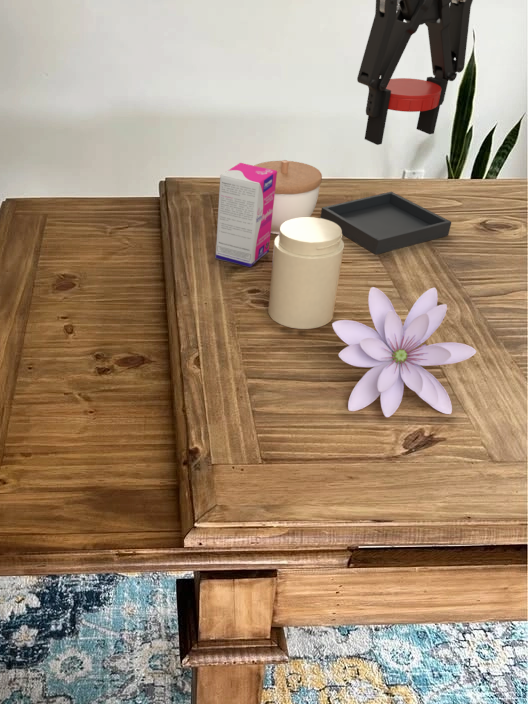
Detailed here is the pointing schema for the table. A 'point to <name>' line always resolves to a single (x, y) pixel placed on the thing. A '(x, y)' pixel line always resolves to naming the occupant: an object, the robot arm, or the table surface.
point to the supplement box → (245, 214)
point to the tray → (386, 222)
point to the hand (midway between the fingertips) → (399, 136)
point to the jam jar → (305, 272)
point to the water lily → (398, 353)
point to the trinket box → (293, 191)
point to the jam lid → (413, 95)
